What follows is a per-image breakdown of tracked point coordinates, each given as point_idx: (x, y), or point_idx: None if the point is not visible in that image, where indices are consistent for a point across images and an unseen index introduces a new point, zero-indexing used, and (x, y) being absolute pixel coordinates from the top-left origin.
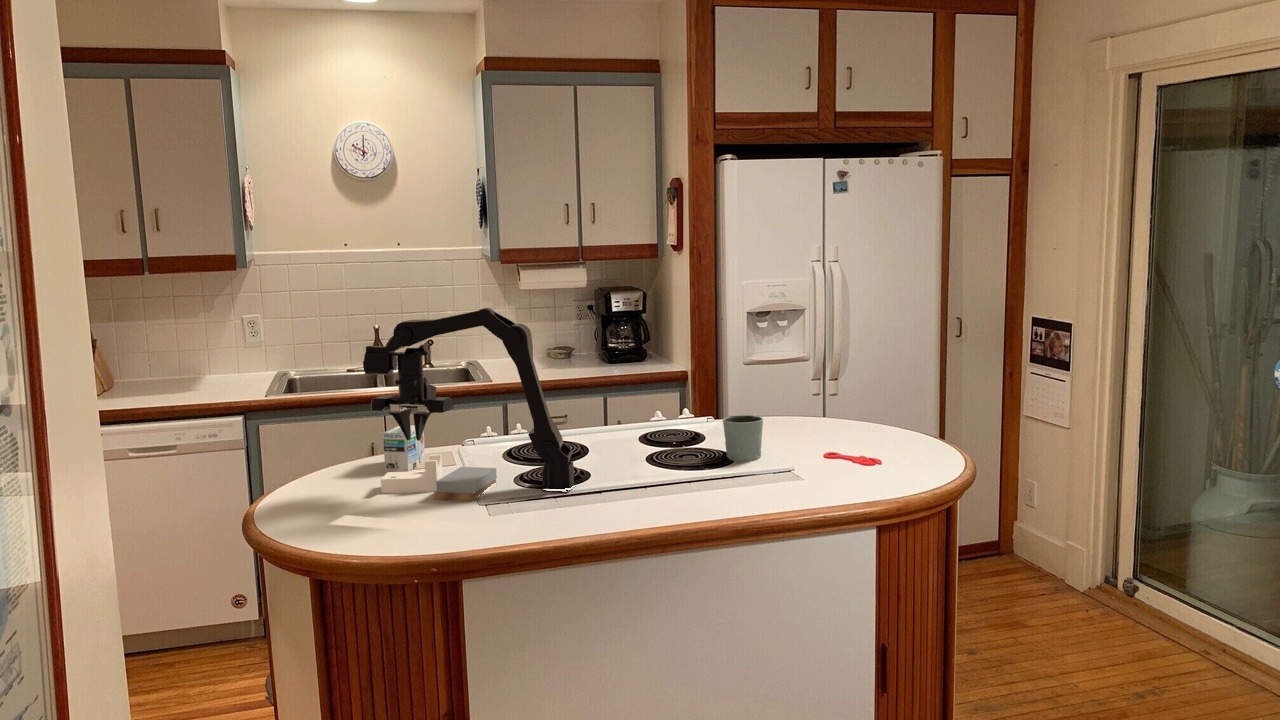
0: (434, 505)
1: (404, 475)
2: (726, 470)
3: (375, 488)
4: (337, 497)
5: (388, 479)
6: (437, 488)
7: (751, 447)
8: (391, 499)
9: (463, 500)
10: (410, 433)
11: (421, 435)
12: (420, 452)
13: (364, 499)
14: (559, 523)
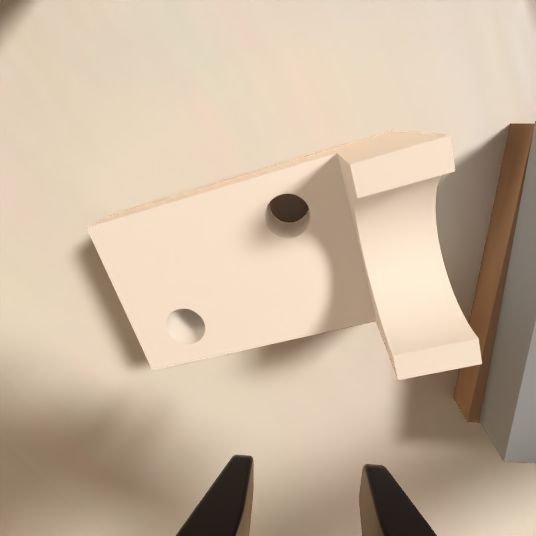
0: (478, 459)
1: (226, 283)
2: None
3: (98, 272)
4: (48, 409)
5: (187, 362)
6: (490, 432)
7: None
8: (269, 410)
9: None
10: (244, 516)
11: (413, 518)
12: None
13: (165, 420)
14: None
